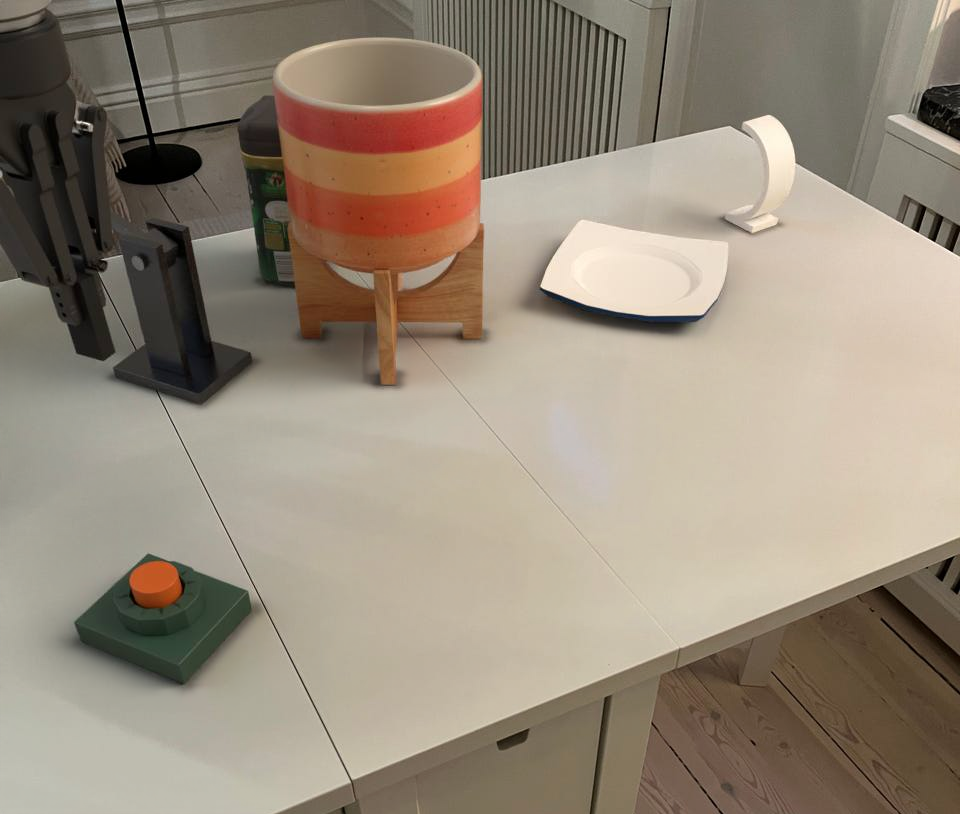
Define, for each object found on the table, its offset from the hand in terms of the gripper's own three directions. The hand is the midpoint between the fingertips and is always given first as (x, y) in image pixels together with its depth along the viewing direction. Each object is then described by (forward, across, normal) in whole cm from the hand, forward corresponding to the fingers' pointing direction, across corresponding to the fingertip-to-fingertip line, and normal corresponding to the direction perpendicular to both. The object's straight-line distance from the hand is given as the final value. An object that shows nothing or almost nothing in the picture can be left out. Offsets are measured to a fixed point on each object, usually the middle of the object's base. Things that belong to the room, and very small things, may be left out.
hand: (96, 352), depth 81 cm
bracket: (+15, +20, +10) cm, 27 cm away
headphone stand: (+16, +81, -35) cm, 90 cm away
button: (+12, -11, -12) cm, 20 cm away
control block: (+16, -11, -12) cm, 22 cm away
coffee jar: (+15, +44, +12) cm, 48 cm away
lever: (+1, +20, +15) cm, 25 cm away
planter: (+15, +36, -6) cm, 39 cm away
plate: (+16, +58, -26) cm, 66 cm away
